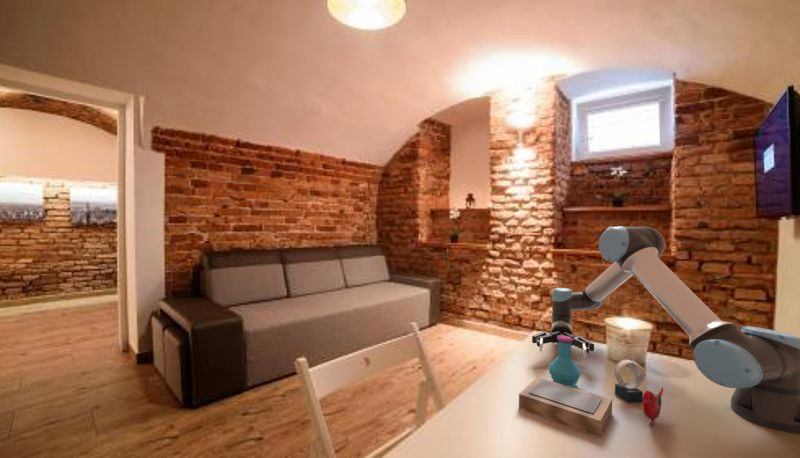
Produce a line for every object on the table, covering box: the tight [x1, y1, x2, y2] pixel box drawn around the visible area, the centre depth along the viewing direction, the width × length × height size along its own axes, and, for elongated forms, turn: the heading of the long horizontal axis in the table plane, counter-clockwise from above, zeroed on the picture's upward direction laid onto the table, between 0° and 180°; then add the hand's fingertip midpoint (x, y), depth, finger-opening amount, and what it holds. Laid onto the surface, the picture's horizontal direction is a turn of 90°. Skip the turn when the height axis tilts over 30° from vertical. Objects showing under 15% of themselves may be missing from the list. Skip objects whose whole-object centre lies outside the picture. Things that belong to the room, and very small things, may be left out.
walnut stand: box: [518, 376, 613, 438], centre depth 96 cm, size 20×14×4 cm
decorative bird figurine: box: [642, 387, 665, 428], centre depth 91 cm, size 3×18×10 cm, turn 132°
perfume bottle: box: [548, 335, 581, 388], centre depth 112 cm, size 9×9×15 cm
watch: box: [614, 359, 647, 404], centre depth 104 cm, size 6×8×11 cm
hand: (562, 350), depth 120 cm, fingers open, 13 cm apart
